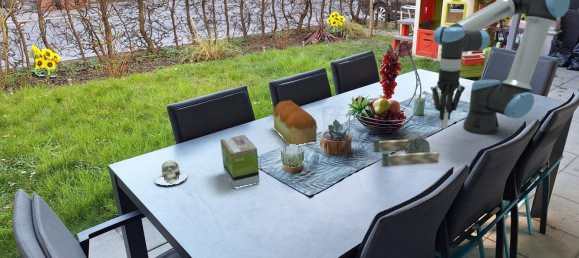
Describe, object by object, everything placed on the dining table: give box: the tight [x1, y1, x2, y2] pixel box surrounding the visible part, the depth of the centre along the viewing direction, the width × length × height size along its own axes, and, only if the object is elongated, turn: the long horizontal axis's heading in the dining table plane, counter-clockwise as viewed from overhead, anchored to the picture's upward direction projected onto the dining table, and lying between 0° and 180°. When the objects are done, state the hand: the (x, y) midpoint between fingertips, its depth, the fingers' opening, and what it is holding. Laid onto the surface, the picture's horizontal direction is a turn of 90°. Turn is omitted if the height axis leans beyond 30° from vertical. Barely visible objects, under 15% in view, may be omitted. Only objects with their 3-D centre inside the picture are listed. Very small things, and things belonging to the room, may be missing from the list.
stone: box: [404, 133, 431, 154], centre depth 172 cm, size 10×10×10 cm
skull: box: [161, 159, 181, 184], centre depth 160 cm, size 12×10×10 cm
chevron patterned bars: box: [372, 138, 440, 167], centre depth 172 cm, size 22×16×5 cm
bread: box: [272, 99, 318, 145], centre depth 196 cm, size 25×12×15 cm, turn 20°
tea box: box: [220, 134, 261, 188], centre depth 157 cm, size 15×10×15 cm
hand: (443, 127), depth 169 cm, fingers closed
